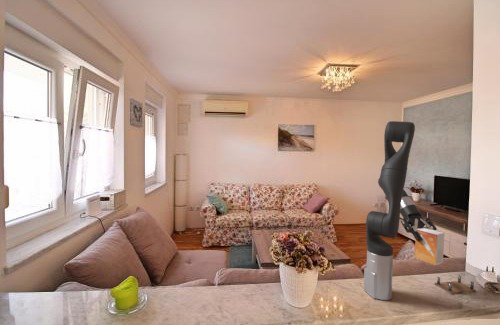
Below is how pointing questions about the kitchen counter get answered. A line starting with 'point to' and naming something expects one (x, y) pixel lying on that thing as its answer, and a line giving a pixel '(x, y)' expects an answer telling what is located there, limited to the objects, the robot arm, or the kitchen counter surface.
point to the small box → (430, 246)
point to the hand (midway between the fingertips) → (428, 240)
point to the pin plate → (455, 286)
